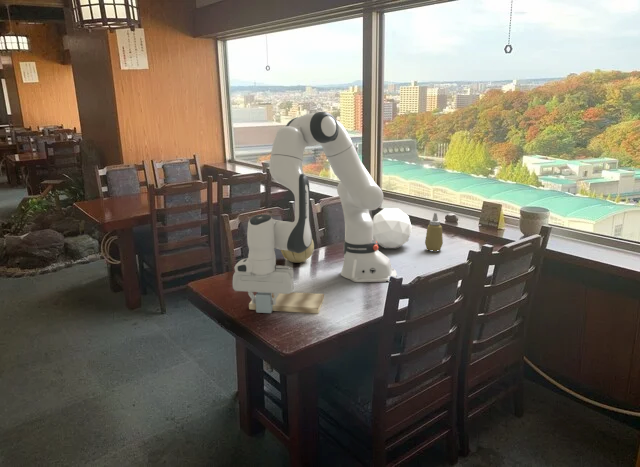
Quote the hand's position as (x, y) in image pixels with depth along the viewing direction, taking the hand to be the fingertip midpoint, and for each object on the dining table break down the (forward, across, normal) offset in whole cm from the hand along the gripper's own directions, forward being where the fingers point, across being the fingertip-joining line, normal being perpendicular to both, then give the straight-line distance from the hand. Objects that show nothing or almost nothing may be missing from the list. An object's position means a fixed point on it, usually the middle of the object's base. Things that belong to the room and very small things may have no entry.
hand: (264, 303), depth 161 cm
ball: (+3, -40, -80) cm, 89 cm away
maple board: (+3, -6, -8) cm, 10 cm away
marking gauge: (+3, 0, -6) cm, 6 cm away
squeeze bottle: (+3, -60, -76) cm, 97 cm away
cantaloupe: (+3, 0, -52) cm, 53 cm away
